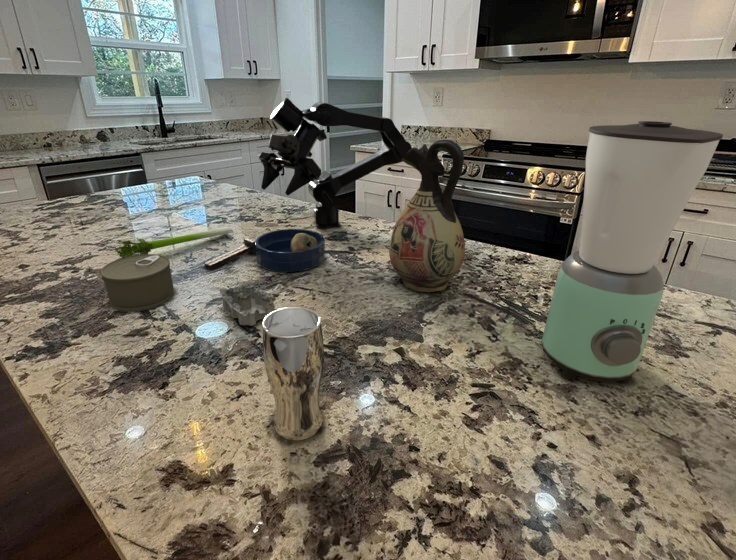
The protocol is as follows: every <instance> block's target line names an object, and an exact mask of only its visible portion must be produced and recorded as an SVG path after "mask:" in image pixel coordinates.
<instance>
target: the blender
mask: <svg viewBox="0 0 736 560" xmlns="http://www.w3.org/2000/svg"><path fill="white" fill-rule="evenodd" d="M588 132H589V134H588V135H589V136H588V140H587V148H586V154H585V174H584V175H585V176H584V189H583V202H582V215H581V225H580V226H581V227H580V234H579V246H578V247H579V249H578V250H577V251H575V252H573V253H571V254H570V255H569V256H568V257H567V258H566V259H565V260H564V261H562V263H561V265H560V267H559V270H558V272H557V276H556V280H555V284H554V288H553V293H552V297H551V301H550V305H549V309H548V312H547V317H546V321H545V325H544V330H543V334H542V337H541V338H542V339H541V347H542V350H543V352H544V354H545V355H546V356H547V357H548V359H549V360H550V361H551V362H552V363H554V364H555V365H556V366H557V367H558V368H561V369H562V370H561V376H562V377H563V378H565V379H567V380H571V381H572V380H575V379H577V377H580V378H581V379H582V378H583V379H587V380H590V381H595V382H621V383H624V384H627V383H630V382H631V380H632V377H633V375H634V374H635V373H636V372H637V370H638V367H639V365H640V362H641V359H642V357H643V353H644V350H645V349H646V345H647V341H648V339H649V337H650V333H651V330H652V327H653V325H654V322H655V319H656V316H657V313H658V310H659V308H660V305H661V301H662V298H663V294H664V288H665V284H664V281H663V275H662V274H661V272H660V270H659V269H658V268H657V267H656V266H655V264H656V262H657V260H658V258H659V256H660V255H661V253H662V251H663V249H664V248H665V245H666V243H667V242H668V239H669V237H670V236H671V234H672V233H673V230H674V228H675V226H676V225H677V222H678V221H679V219H680V217H681V215H682V214H683V212H684V210H685V208H686V206H687V205H688V202H689V200H690V199H691V198H692V195H693V194H694V192H695V190H696V188H697V186H698V184H699V182H701V180H702V178H703V176H704V175H705V174H706V172H707V169H708V168H709V165H710V163H711V161H712V159H713V157H714V154H715V152H716V149H717V147H718V145H719V142H720V140H722V139H723V137H724V134H723V133H719V132H716V131H710V130H703V129H694V128H686V127H681V126H676V125H673V123H672V122H668V121H657V120H656V121H651V120H641V121H637V123H631V124H623V125H621V124H616V125H615V124H610V125H608V124H607V125H594V126H590V127H588Z"/></svg>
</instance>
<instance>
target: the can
mask: <svg viewBox="0 0 736 560" xmlns="http://www.w3.org/2000/svg"><path fill="white" fill-rule="evenodd" d="M100 276H101V278H102V281H103V283H104V287H105V290H106V293H107V297H108V300H109V304H110V307H111V308H112V309H114V310H115V311H118V312H124V313H134V312H136V313H137V312H142V311H148V310H151V309H154V308H158V307H159V306H162V305H164V304H166V303H167V302H169V301H170V300H171V299H172V298H173V297H174V296H175V288H174V282H173V277H172V272H171V261H170V258H168V257H167V256H165V255H162V254H155V253H148V254H142V255H140V254H135V255H134V254H133V255H132V256H129V257H125V258H122V257H120V258H118V259H116V260H113V261H111V262H109V263H107V264H105V265H104V266H103V267H102V268H101V269H100Z"/></svg>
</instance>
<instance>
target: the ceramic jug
mask: <svg viewBox="0 0 736 560" xmlns="http://www.w3.org/2000/svg"><path fill="white" fill-rule="evenodd" d="M440 152H445V153H448V154H449V156H450V157H451V159H452V160H451V161H452V167H451V170H450V173H449V176H448V179H447V182H446V185H445V187H444V189H442V187H441V184H440V177H443V176H445V174H446V168H445V166H444V164H443V163H442V162H441V160H440V158H439V155H438V154H439V153H440ZM402 161H403V162H402V163H404V164H406V165H408V166H410V167H412V168H414V169H415V170H416V171H418V172H419V174H420V177H421V181H420V184H419V188H418V189H416V192H415V193H414V195H413V196H412V197H411V198H410V200H409V201H408V202H407V204H406V205H405V207H404V208H403V210H402V212H401V213H400V215H399V216H398V218H397V220H396V222H395V224H394V227H393V229H392V233H391V236H390V241H389V246H388V247H389V248H388V255H389V260H390V263H391V266H392V268H393V269H394V271H395V272H396V273H397V274H398V275H399V277H400V278H401V279H402V283H403V285H404V286H405V287H406V288H408V289H410V290H412V291H416V292H420V293H434V292H440V291H444V290H445V289H447V286H448V284H449V281H450V280H451V279H452V278H454V276H456V275H457V274H458V273H459V271H460V270H461V268H462V266H463V263H464V262H465V261H464V260H465V257H466V242H465V235H464V232H463V228H462V225H461V222H460V220H459V218H458V216H457V214H456V212H455V207H454V202H453V200H452V199H453V195H454V193H455V190H456V187H457V185H458V182H459V180H460V178H461V176H462V172H463V170H464V169H463V167H464V163H465V155H464V151H463V149H462V148H461V146H460V145H459V144H458V143H457V142H455V141H453V140H451V139H439V140H436V141H434V142H433V143H432V144H431V145H430V146H429V148H428V146H427V144H425V143H424V144H422V146H421V147H420V148H417V147H412V149H411V150H409V151H408V152H407V153H406V155H405V156H404V158H403V159H402Z"/></svg>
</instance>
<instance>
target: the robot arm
mask: <svg viewBox="0 0 736 560" xmlns="http://www.w3.org/2000/svg"><path fill="white" fill-rule="evenodd" d="M269 119H270V120H271V121H273V122H274V123H275V124H276V125H278V126H279V127H280V128H281V129H282V130H284V131H285V132H286V133H289V132H293V133H294V132H295V131H296V132H295V133H294V135H292V134H288V135H287V136H283V135H277V134H271V135H270V138H269V142H268V146H267V148H268V149H273V150H275V151H277V154H276V153H275V152H271V151H261V153H260V155H259V157H258V160H259V161H260V163H261V164H262V166H263V174H262V181H261V187H260V188H261V190H262V191H265V190H266V189H267V188H268V187H270V185H271V184H272V183H273V182H275V180H276V179H277V178H278V177H279V176H281V173H280V172H282V171H283V169H284V168H286V169H291V170H293V175H292V178H291V179H290V182H289V183H288V185H287V187H286V189H285V192H284V194H285V195H286V196H290V195H292V194H294V193H295V192H296V191H298V190H299V189H301V188H302V187H304V186H305V185H307V184H308V187H307V191H308V193H309V194H310V196H311V197H312V198H313V199H314V200H315V202H317V203H315V208H314V209H313V217H314V219H313V220H314V224H315V225H316V226H317V228H318V229H324V228H336V227H338V228H339V227H341V224H340V223H339V222H340V219H339V218H340V217H339V216H340V215H339V212H340V211H339V210H340V209H339V207H340V205H341V199H340V198H338V196H337V195H338V193H340V191H341V190H342V189H343V188H344V187H347V186H349V185H350V184H352V183H354V182H356V181H358V180H361V179H362V178H364V177H366V176H367V175H370V174H371V173H373V172H376V171H377V170H379V169H381V168H383V167H385V166H391V165H396V164H400V163H404V162H403V161H402V159H403V158H404V156H405V155H406V153H407V152H408V151H409V150H411V149H412V148H413V146H412V144H411V143H410V142H409V141H407V140H406V139H405V137H404V136H403V134H402V133H401V132H400V131H399V129H398V128H397V126H396V125H395V123H394V121H393V120H392V119H391V118H389V117H386V116H381V117H380V116H375V115H370V114H369V115H368V114H364V113H358V112H352V111H347V110H345V109H342V108H340V107H337V106H335V105H333V104H330V103H327V102H321V101H318V102H315V103H314V104H313V105H312V106H311V108H307V109H303V110H301V109H300V108H298V107H297V106H296V105H295V104H294V103H293V102H292V100H291V99H289V98H288V97H285V98H284V99H283V100H282V101H281V102H280V103H279V104H278V105H277V106H276V107H275V108H274V109H273V110H272V113H271V114H270V118H269ZM308 121H310V122H312V123H310V122H308ZM317 125H319V126H322V127H340V126H346V127H353V128H360V129H364V130H371V131H376V132H378V133H379V135H380V138H381V140H382V142H383V145H381V147H380V148H379V149H378V151H376V152H375V153H373V154H371V155H369V156H366V157H365V158H363V159H361V160H359V161H357V162H355V163H353V164H351V165H349V166H347V167H345V168H343V169H342V170H340V171H338V172H336V173H333V174H331V173H329V172H328V171H327V170H324V171H322V168H321V167H320V166H319V165H318V164H317V162H316V161H315V159H314V158H311V157H312V156H313V153H312V152H311V151H312V149H313V147H314V146H315V144H316V142H317V140H318V141H319V142H322V141H325V140H326V139H327V134H326V130H325V129H320V127H318V126H317ZM277 155H278V156H279V157H281V158H279V157H278V156H277Z"/></svg>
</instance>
